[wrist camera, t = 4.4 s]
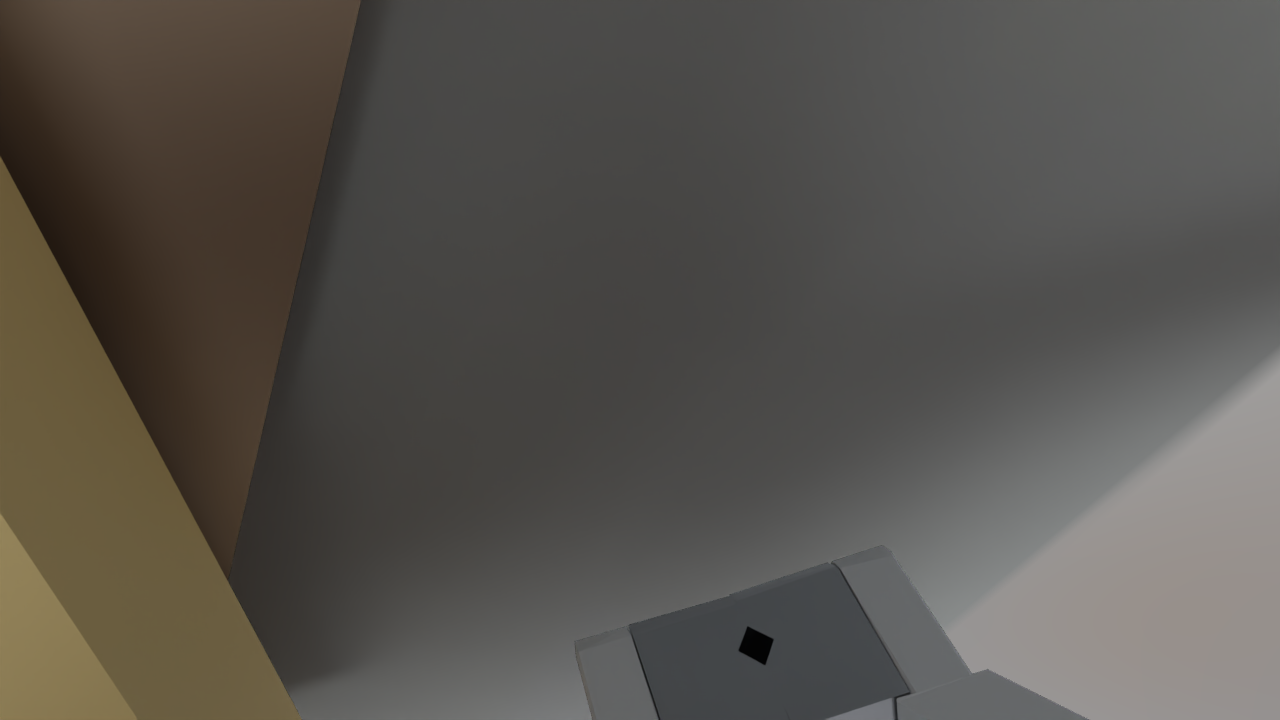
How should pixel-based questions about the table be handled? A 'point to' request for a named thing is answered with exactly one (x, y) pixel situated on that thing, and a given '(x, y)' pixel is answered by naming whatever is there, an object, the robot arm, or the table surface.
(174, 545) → the link
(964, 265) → the table surface
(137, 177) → the board
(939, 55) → the table surface
